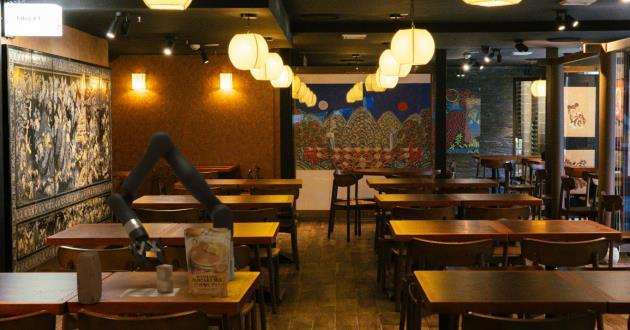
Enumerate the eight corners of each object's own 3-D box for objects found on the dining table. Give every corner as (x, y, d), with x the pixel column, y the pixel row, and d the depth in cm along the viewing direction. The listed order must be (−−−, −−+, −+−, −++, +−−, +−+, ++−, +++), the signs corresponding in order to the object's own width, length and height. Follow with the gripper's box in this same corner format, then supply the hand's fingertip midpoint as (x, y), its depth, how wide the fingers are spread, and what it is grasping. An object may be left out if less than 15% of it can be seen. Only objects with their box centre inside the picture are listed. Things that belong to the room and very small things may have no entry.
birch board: (180, 291, 318) (180, 288, 318) (174, 299, 304) (173, 296, 304) (128, 292, 318) (128, 288, 318) (119, 300, 304) (119, 296, 304)
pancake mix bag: (187, 294, 313) (185, 226, 311) (233, 294, 312) (231, 226, 310) (183, 298, 307) (181, 229, 305) (230, 298, 305) (228, 229, 303)
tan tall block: (166, 290, 314) (165, 264, 313) (173, 292, 311) (172, 265, 310) (157, 292, 310) (156, 266, 309) (164, 294, 307) (163, 267, 306)
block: (93, 305, 297) (92, 254, 296) (75, 305, 298) (73, 254, 297) (105, 298, 308) (103, 249, 306) (87, 298, 309) (85, 249, 307)
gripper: (125, 228, 313) (143, 259, 307) (153, 224, 324) (171, 253, 317) (118, 239, 317) (135, 270, 311) (146, 235, 328) (163, 264, 321)
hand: (153, 262), depth 314 cm, fingers open, 8 cm apart
